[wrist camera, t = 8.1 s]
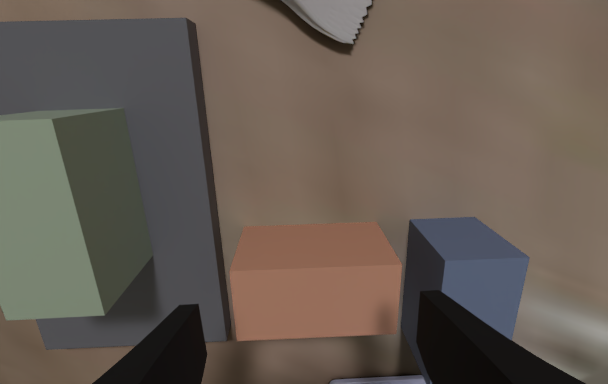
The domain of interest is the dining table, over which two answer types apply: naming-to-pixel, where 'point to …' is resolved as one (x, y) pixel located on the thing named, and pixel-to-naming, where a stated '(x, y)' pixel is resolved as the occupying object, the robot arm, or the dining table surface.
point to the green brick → (68, 213)
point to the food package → (332, 16)
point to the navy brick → (462, 273)
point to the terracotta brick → (314, 282)
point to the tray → (147, 156)
